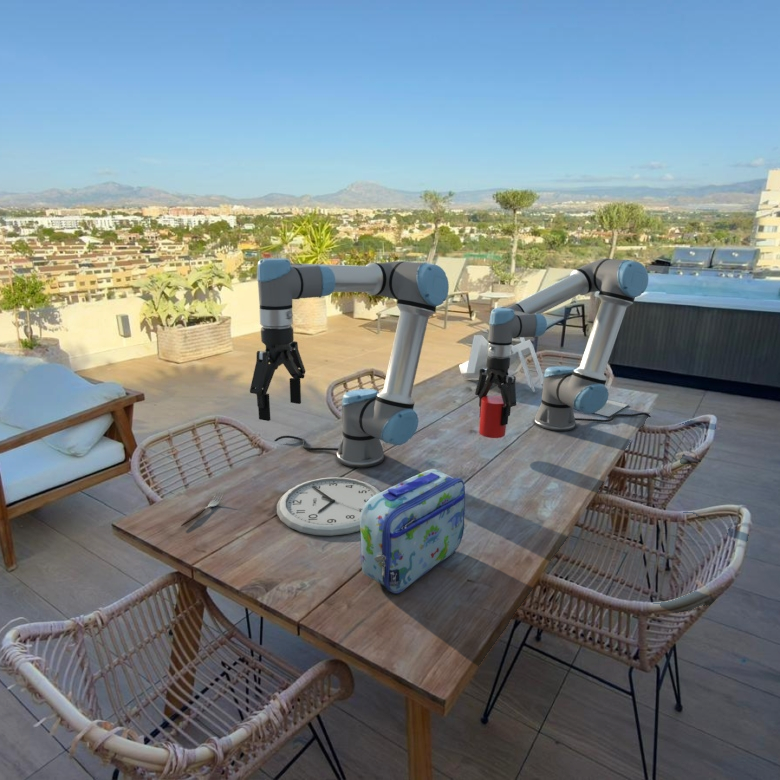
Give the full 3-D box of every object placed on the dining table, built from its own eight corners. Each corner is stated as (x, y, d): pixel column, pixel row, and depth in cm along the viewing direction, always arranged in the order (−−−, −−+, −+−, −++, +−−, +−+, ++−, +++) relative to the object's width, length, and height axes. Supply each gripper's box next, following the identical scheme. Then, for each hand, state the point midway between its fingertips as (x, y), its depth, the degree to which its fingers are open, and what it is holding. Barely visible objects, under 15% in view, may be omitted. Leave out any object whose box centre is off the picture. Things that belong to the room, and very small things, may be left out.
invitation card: (608, 416, 214) (573, 407, 224) (608, 416, 214) (573, 408, 224) (628, 404, 229) (594, 396, 238) (628, 405, 229) (594, 397, 238)
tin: (474, 430, 182) (476, 396, 178) (496, 427, 185) (499, 394, 181) (487, 439, 174) (490, 405, 171) (510, 436, 177) (513, 402, 174)
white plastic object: (480, 421, 262) (459, 398, 238) (462, 347, 285) (440, 320, 260) (552, 397, 250) (537, 370, 226) (527, 322, 272) (511, 290, 248)
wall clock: (392, 527, 129) (268, 531, 127) (391, 533, 130) (269, 537, 127) (383, 473, 158) (282, 475, 155) (383, 478, 158) (282, 480, 156)
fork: (176, 526, 131) (176, 519, 130) (217, 497, 145) (217, 491, 145) (185, 528, 130) (184, 521, 130) (225, 499, 145) (224, 492, 144)
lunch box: (388, 606, 105) (390, 514, 99) (353, 580, 112) (353, 493, 106) (468, 553, 123) (474, 472, 116) (433, 534, 130) (437, 457, 124)
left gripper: (258, 337, 111) (263, 430, 117) (317, 319, 133) (319, 398, 139) (229, 333, 113) (236, 425, 120) (292, 317, 136) (295, 394, 142)
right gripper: (467, 351, 178) (462, 413, 184) (517, 364, 161) (510, 432, 168) (482, 348, 182) (477, 409, 189) (532, 361, 166) (525, 427, 172)
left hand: (280, 411), depth 130 cm, fingers open, 13 cm apart
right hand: (493, 420), depth 178 cm, fingers closed on tin, 9 cm apart
